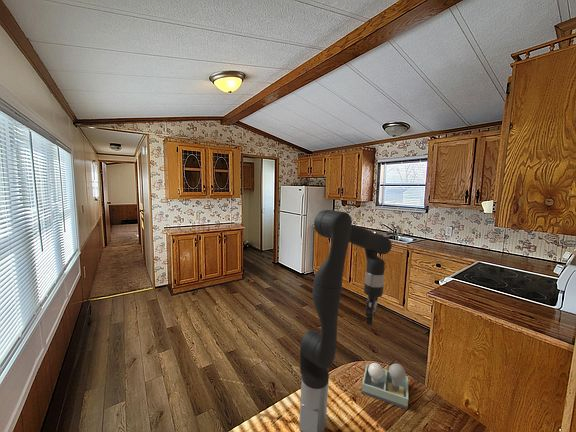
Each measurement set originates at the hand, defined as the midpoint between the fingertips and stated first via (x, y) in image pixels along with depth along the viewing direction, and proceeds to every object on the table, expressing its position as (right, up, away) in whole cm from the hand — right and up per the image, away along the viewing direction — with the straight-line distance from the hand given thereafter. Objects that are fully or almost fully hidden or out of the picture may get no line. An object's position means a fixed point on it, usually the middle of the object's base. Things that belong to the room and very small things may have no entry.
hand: (370, 319), depth 109 cm
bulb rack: (+5, -28, -2) cm, 29 cm away
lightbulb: (+9, -27, -4) cm, 29 cm away
